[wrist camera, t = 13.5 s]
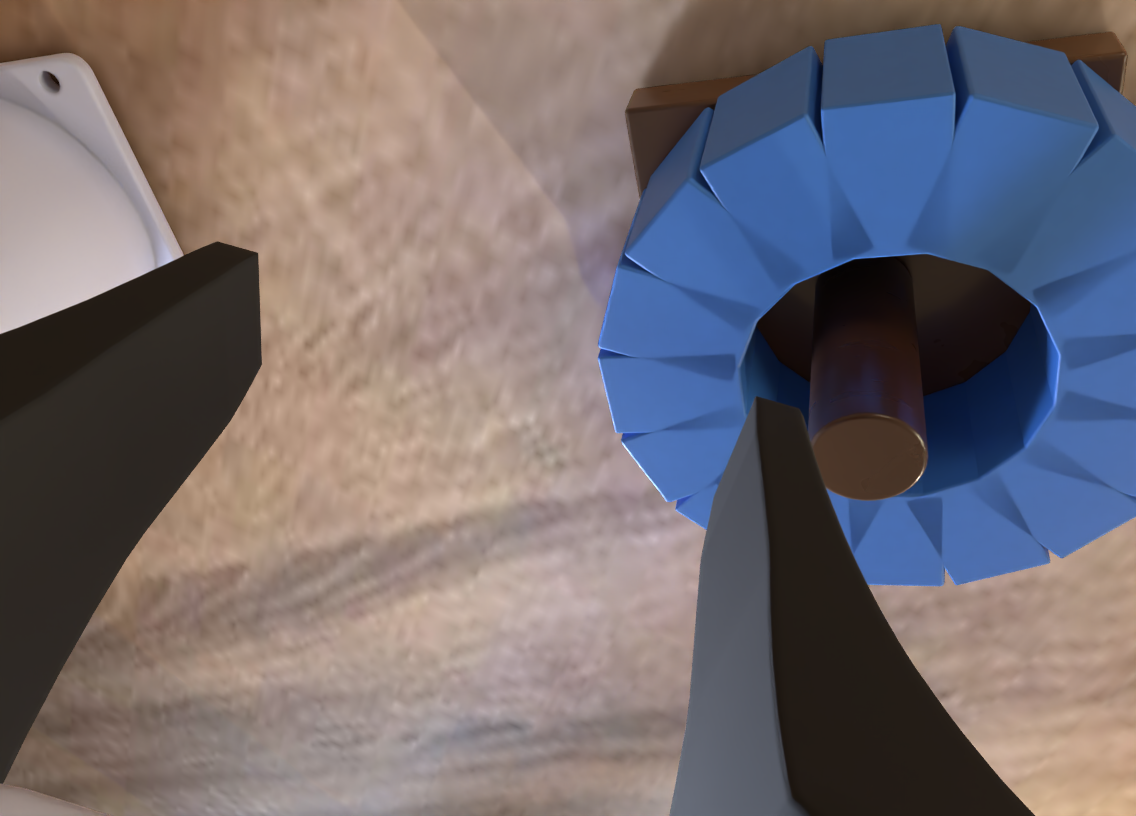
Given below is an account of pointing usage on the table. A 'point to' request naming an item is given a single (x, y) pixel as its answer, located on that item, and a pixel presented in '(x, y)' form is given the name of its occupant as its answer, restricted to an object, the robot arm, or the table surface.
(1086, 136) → the tape
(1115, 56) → the stand
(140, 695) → the table surface
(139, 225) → the robot arm
